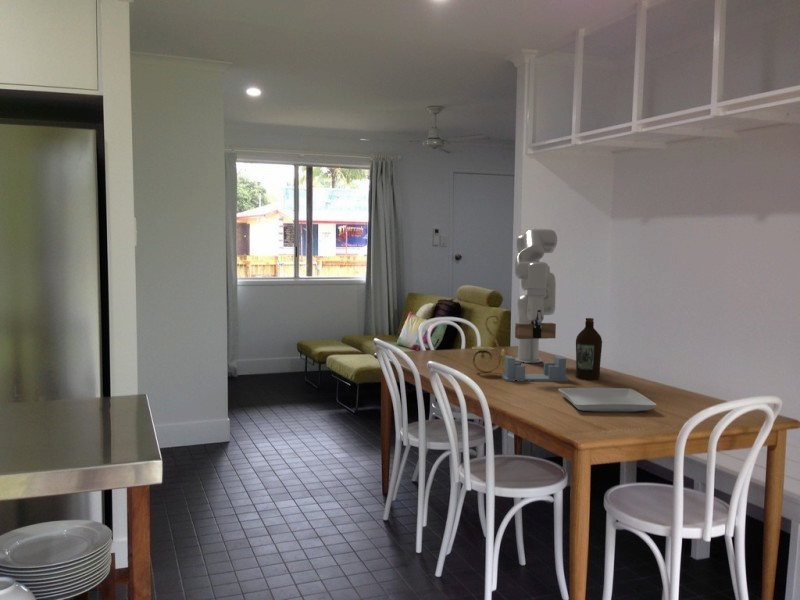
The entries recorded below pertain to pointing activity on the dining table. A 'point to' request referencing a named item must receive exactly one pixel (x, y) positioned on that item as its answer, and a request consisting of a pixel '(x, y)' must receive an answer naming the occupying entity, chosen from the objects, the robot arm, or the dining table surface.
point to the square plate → (607, 399)
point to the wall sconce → (486, 349)
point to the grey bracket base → (551, 373)
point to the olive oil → (588, 352)
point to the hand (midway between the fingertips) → (535, 336)
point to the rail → (527, 330)
